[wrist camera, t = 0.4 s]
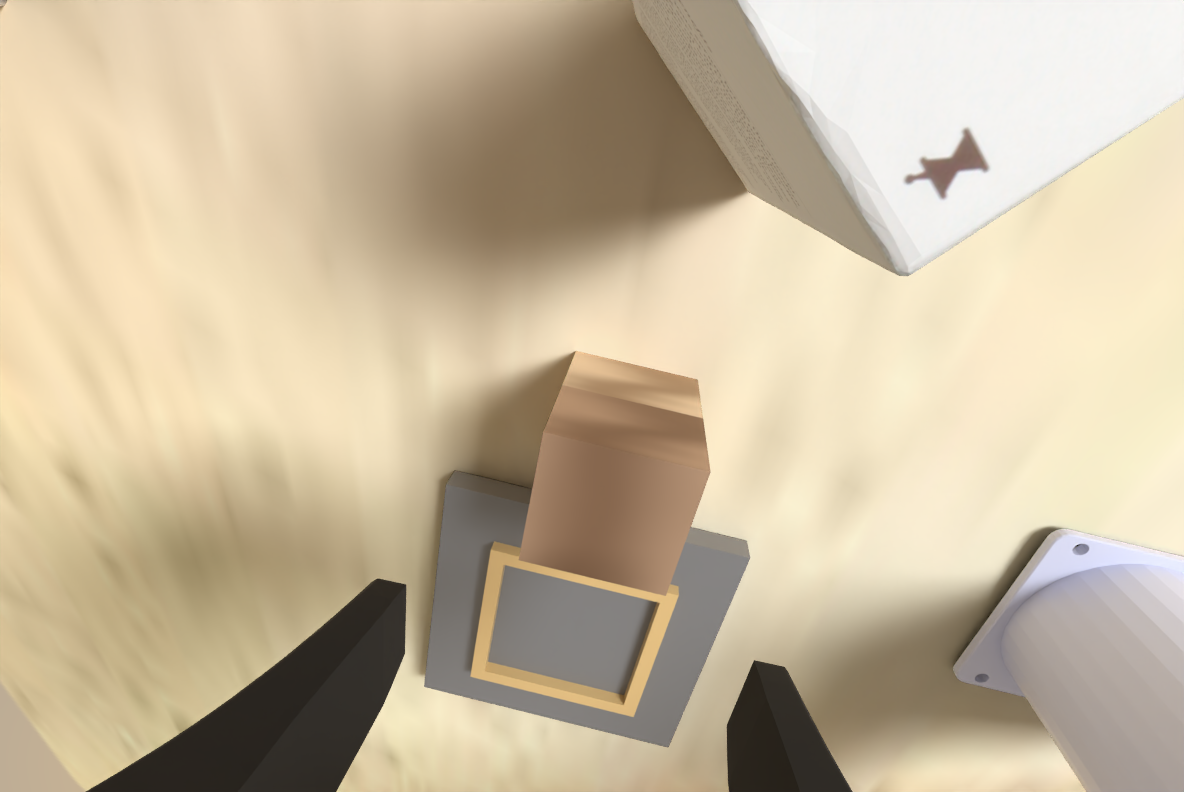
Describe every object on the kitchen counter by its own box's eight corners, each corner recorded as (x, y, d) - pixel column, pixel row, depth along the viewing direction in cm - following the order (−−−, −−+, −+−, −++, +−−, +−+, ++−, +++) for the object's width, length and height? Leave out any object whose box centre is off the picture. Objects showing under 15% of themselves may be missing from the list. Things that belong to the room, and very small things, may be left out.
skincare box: (883, 95, 15) (1393, 0, 5) (748, 195, 17) (898, 301, 6) (765, -122, 14) (1127, -1032, 3) (627, 10, 15) (542, -288, 5)
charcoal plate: (746, 540, 22) (752, 567, 21) (668, 727, 27) (668, 758, 26) (454, 470, 22) (441, 491, 21) (431, 668, 28) (420, 696, 26)
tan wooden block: (697, 379, 20) (710, 472, 14) (665, 480, 22) (665, 596, 16) (576, 350, 20) (543, 431, 14) (554, 454, 22) (518, 560, 16)
